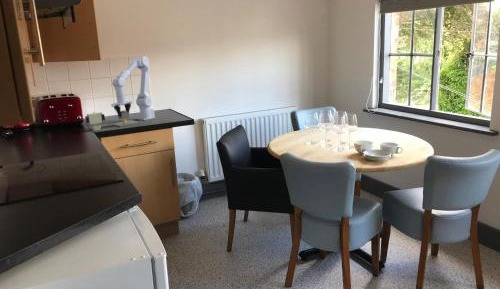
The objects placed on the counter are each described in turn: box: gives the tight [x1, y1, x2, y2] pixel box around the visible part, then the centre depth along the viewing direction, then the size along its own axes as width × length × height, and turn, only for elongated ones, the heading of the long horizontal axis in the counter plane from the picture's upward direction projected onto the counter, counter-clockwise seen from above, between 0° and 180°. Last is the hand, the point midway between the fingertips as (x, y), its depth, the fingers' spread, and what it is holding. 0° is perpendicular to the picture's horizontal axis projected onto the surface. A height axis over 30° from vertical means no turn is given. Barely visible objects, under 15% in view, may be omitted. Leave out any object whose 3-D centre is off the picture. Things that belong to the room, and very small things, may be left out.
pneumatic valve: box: [84, 111, 106, 132], centre depth 267 cm, size 6×12×12 cm, turn 116°
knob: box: [117, 109, 130, 120], centre depth 278 cm, size 5×5×5 cm
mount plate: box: [111, 118, 140, 128], centre depth 281 cm, size 14×12×4 cm
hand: (123, 115), depth 278 cm, fingers closed on knob, 5 cm apart
